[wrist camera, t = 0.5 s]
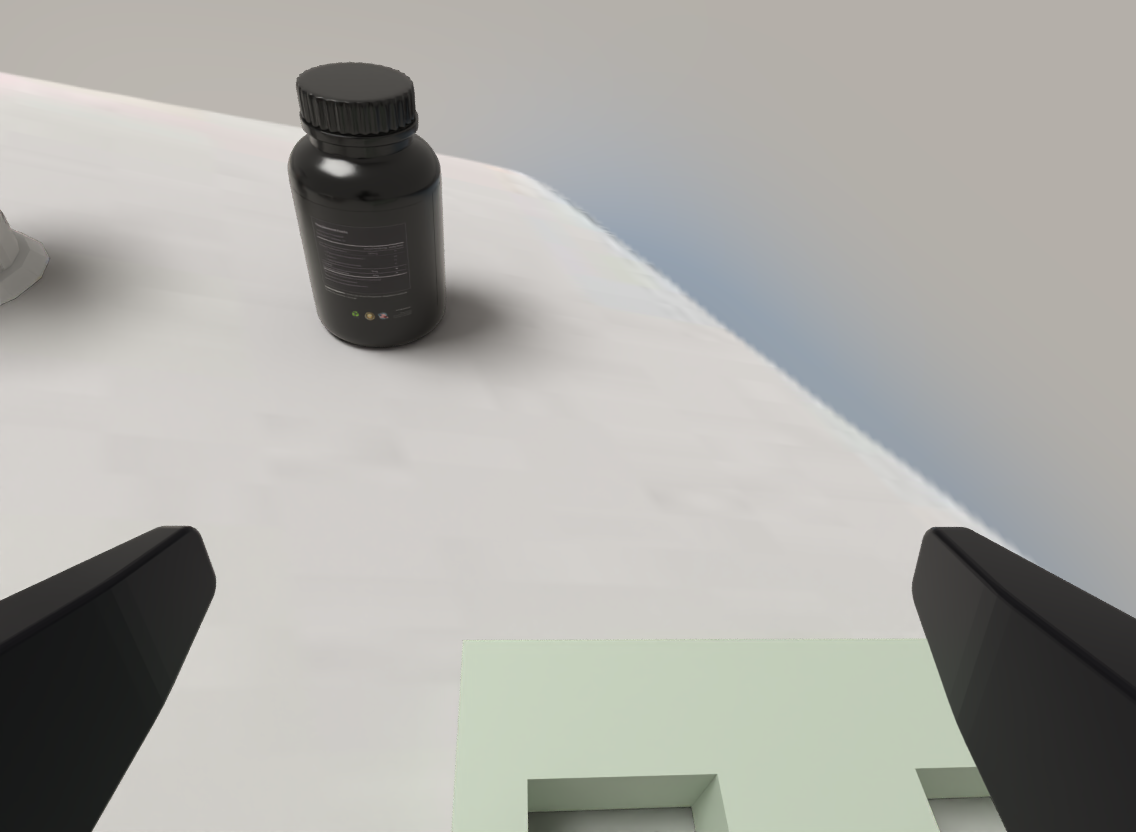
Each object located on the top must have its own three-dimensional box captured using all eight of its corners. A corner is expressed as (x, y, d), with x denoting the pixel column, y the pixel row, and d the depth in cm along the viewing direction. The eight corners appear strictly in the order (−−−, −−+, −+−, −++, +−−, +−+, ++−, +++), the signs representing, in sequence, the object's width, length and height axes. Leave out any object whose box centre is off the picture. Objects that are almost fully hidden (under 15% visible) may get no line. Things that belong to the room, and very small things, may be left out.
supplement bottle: (329, 275, 38) (290, 46, 30) (449, 281, 39) (444, 60, 30) (304, 350, 33) (249, 101, 25) (442, 355, 34) (434, 116, 26)
